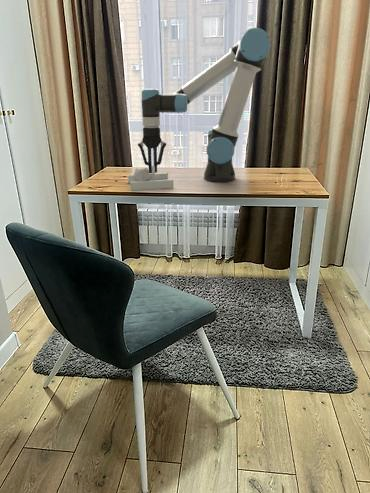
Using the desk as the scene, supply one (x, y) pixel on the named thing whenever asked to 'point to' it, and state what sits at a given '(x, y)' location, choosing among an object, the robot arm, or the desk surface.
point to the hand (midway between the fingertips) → (153, 179)
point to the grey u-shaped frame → (152, 182)
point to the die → (141, 175)
